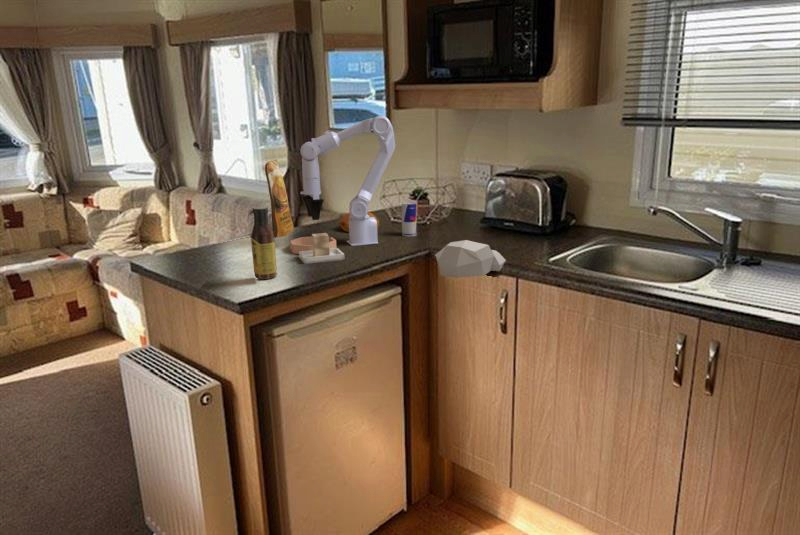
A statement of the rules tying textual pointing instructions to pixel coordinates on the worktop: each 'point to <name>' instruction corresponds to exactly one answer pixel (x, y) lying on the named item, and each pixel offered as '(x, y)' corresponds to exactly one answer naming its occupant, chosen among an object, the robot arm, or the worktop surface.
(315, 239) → the beech peg
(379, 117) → the robot arm
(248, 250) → the worktop surface
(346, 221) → the croissant
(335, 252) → the tray
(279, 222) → the pancake mix bag
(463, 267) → the rock
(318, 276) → the worktop surface
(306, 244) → the pinkish-brown octagonal ring
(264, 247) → the sauce bottle
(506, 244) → the worktop surface
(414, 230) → the energy drink
